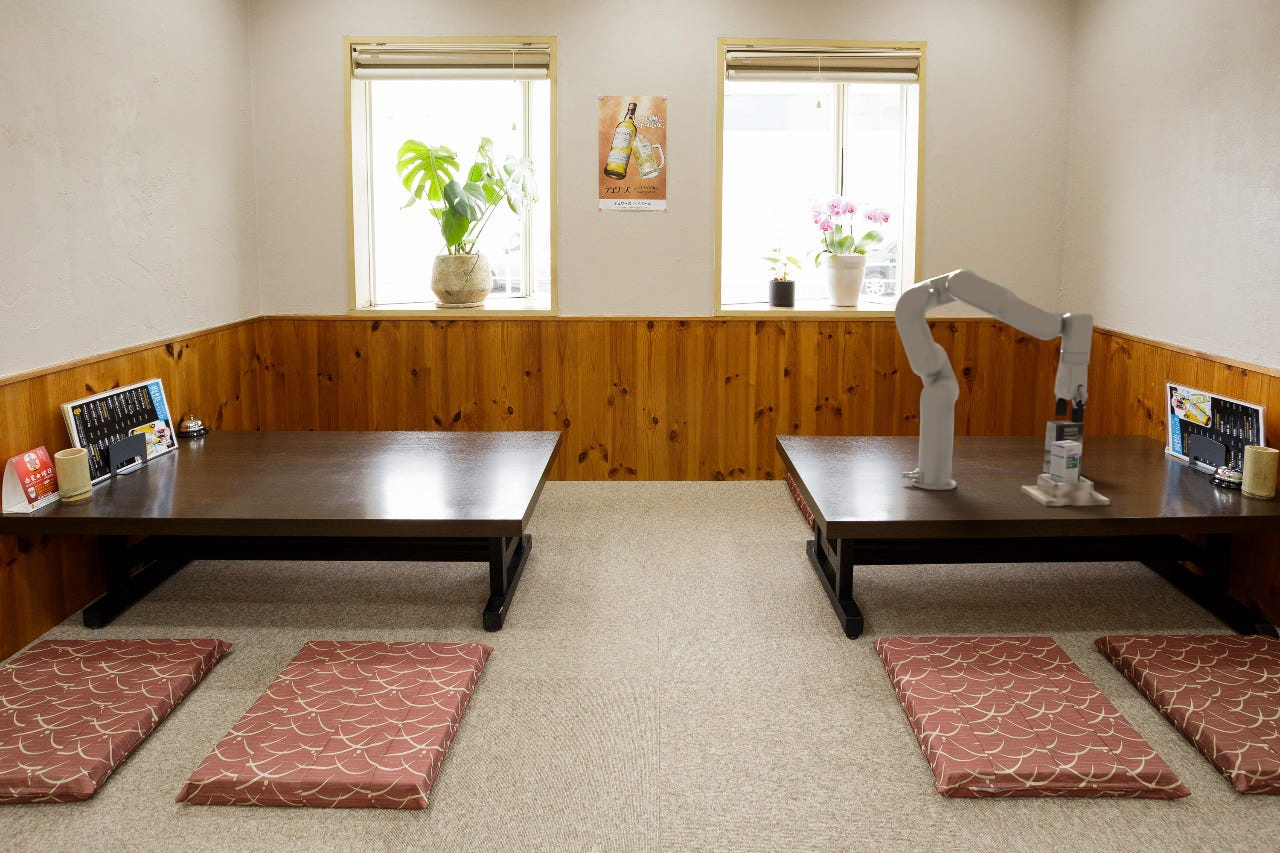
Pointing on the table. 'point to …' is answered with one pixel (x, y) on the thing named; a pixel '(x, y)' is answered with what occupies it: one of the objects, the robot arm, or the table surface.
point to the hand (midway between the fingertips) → (1068, 418)
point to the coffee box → (1060, 437)
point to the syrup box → (1066, 462)
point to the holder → (1064, 492)
